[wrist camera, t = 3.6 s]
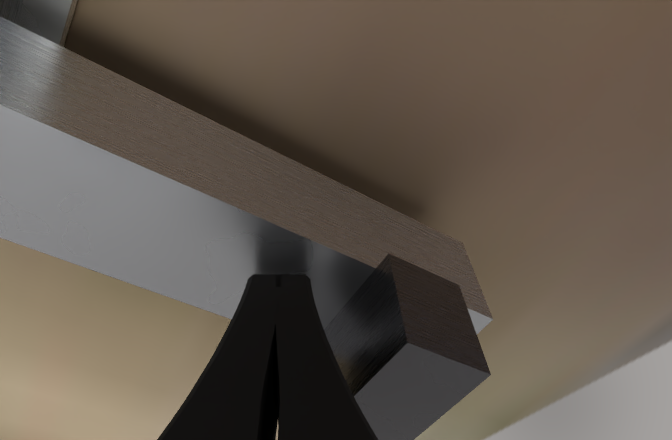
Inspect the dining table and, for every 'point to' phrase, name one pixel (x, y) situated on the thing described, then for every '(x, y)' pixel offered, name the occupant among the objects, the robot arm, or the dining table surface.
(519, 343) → the dining table surface
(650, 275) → the dining table surface
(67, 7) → the bearing block
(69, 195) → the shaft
